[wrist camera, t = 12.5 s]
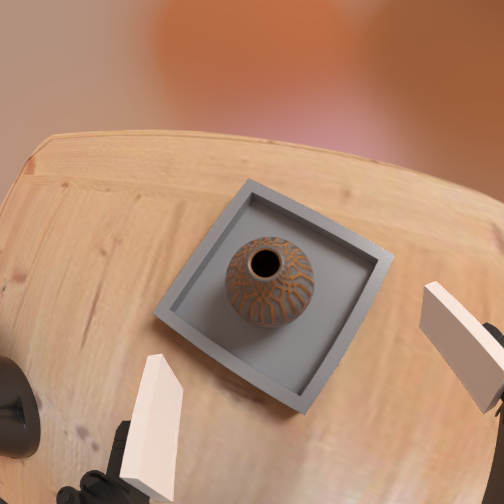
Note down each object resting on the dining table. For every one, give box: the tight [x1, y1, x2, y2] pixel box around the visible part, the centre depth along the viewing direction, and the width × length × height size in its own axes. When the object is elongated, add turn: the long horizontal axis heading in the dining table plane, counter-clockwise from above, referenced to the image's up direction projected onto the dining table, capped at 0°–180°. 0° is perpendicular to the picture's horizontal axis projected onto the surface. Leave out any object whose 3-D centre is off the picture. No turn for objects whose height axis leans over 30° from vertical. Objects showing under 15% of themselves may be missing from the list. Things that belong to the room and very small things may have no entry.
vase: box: [225, 237, 315, 328], centre depth 22 cm, size 7×7×9 cm
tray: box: [153, 178, 395, 415], centre depth 26 cm, size 16×16×2 cm
